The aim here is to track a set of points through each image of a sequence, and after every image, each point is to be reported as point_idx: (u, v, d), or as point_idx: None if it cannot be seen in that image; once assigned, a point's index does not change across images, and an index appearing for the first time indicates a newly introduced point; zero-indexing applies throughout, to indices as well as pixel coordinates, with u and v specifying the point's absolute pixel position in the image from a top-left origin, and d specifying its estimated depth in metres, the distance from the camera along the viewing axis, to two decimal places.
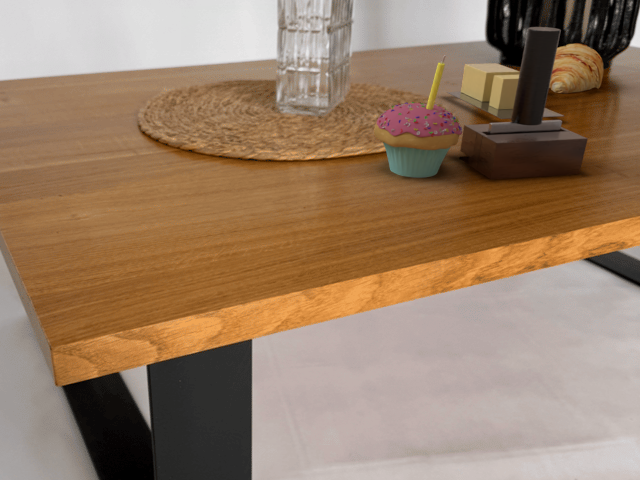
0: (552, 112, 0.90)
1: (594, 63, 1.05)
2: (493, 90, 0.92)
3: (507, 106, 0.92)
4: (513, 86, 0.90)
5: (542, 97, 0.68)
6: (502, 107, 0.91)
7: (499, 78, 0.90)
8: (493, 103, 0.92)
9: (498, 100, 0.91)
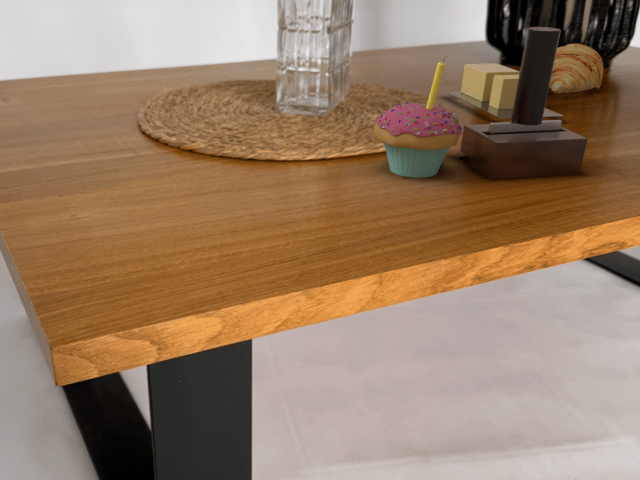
0: (552, 112, 0.90)
1: (594, 63, 1.05)
2: (493, 90, 0.92)
3: (507, 106, 0.92)
4: (513, 86, 0.90)
5: (542, 97, 0.68)
6: (502, 107, 0.91)
7: (499, 78, 0.90)
8: (493, 103, 0.92)
9: (498, 100, 0.91)
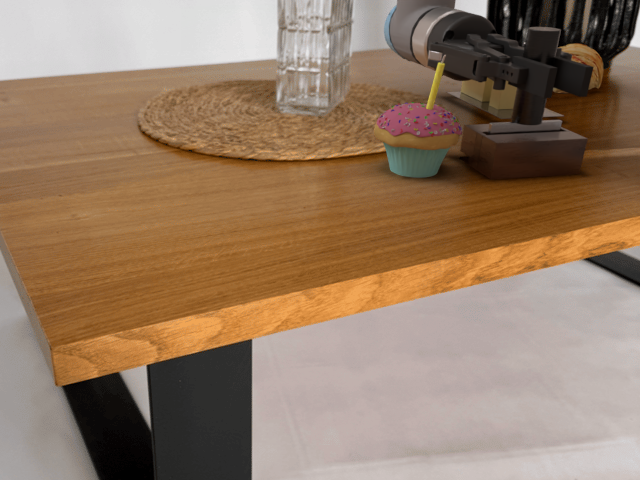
0: (552, 112, 0.90)
1: (594, 63, 1.05)
2: (493, 90, 0.92)
3: (507, 106, 0.92)
4: (513, 86, 0.90)
5: None
6: (502, 107, 0.91)
7: None
8: (493, 103, 0.92)
9: (498, 100, 0.91)
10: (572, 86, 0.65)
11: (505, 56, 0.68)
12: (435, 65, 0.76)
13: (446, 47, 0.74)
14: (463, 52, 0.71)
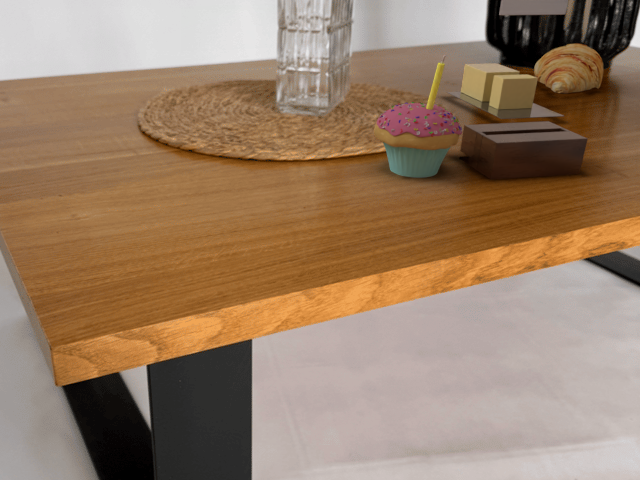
0: (552, 112, 0.90)
1: (594, 63, 1.05)
2: (493, 90, 0.92)
3: (507, 106, 0.92)
4: (513, 86, 0.90)
5: None
6: (502, 107, 0.91)
7: (499, 78, 0.90)
8: (493, 103, 0.92)
9: (498, 100, 0.91)
10: None
11: None
12: None
13: None
14: None
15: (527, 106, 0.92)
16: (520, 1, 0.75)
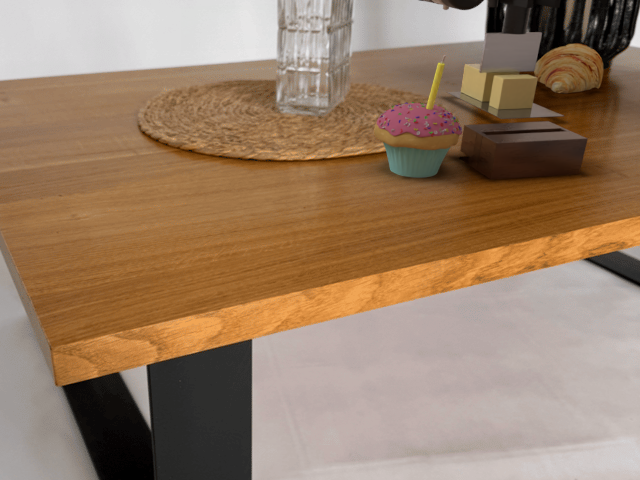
0: (552, 112, 0.90)
1: (594, 63, 1.05)
2: (493, 90, 0.92)
3: (507, 106, 0.92)
4: (513, 86, 0.90)
5: (526, 11, 0.88)
6: (502, 107, 0.91)
7: (499, 78, 0.90)
8: (493, 103, 0.92)
9: (498, 100, 0.91)
10: (548, 0, 0.85)
11: None
12: None
13: None
14: None
15: (527, 106, 0.92)
16: (496, 61, 0.92)
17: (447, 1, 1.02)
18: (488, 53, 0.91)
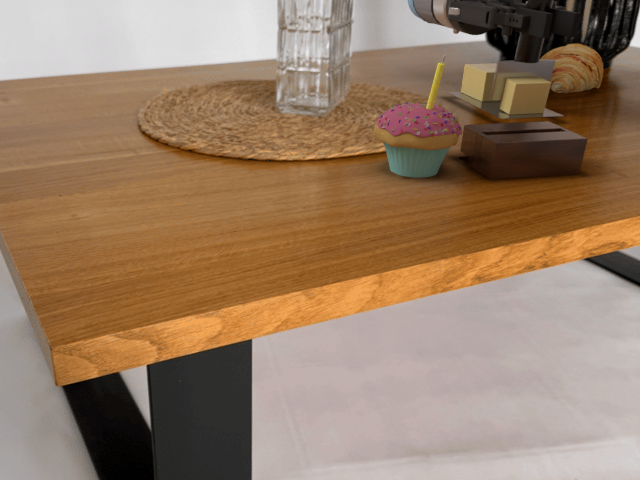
0: (552, 112, 0.90)
1: (594, 63, 1.05)
2: (505, 94, 0.90)
3: (518, 111, 0.89)
4: (525, 91, 0.88)
5: (540, 40, 0.86)
6: (513, 112, 0.89)
7: (511, 82, 0.88)
8: (504, 107, 0.90)
9: (509, 105, 0.89)
10: (564, 29, 0.83)
11: (511, 8, 0.86)
12: (454, 19, 0.94)
13: (463, 3, 0.92)
14: (478, 6, 0.89)
15: (539, 111, 0.90)
16: None
17: (458, 26, 0.99)
18: (499, 81, 0.89)
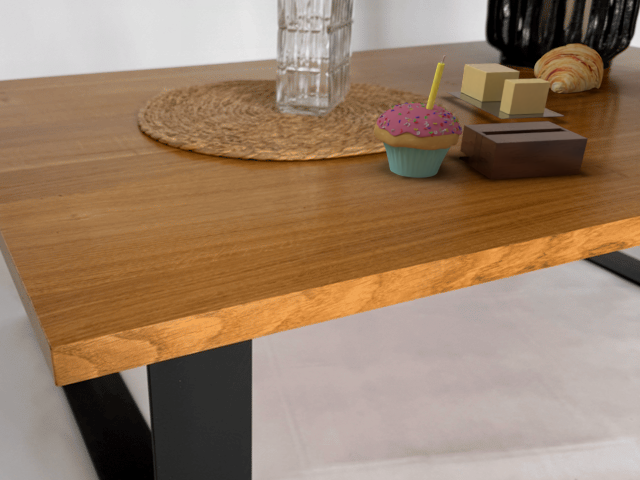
0: (552, 112, 0.90)
1: (594, 63, 1.05)
2: (504, 95, 0.90)
3: (518, 111, 0.89)
4: (525, 91, 0.88)
5: None
6: (513, 112, 0.89)
7: (510, 82, 0.88)
8: (504, 108, 0.90)
9: (509, 105, 0.89)
10: None
11: None
12: None
13: None
14: None
15: (539, 111, 0.90)
16: None
17: None
18: None
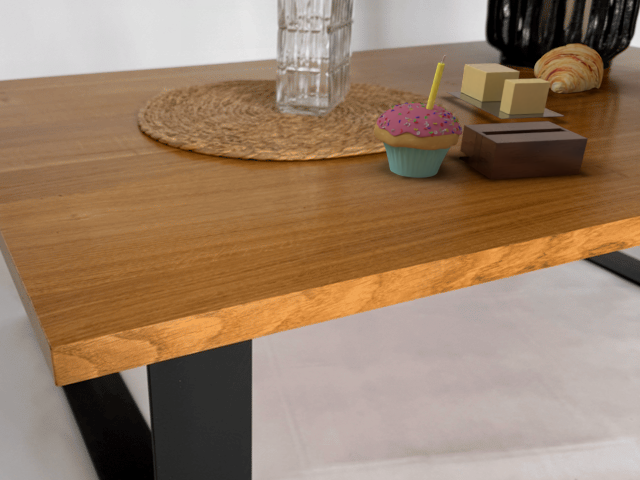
0: (552, 112, 0.90)
1: (594, 63, 1.05)
2: (504, 95, 0.90)
3: (518, 111, 0.89)
4: (525, 91, 0.88)
5: None
6: (513, 112, 0.89)
7: (510, 82, 0.88)
8: (504, 108, 0.90)
9: (509, 105, 0.89)
10: None
11: None
12: None
13: None
14: None
15: (539, 111, 0.90)
16: None
17: None
18: None
